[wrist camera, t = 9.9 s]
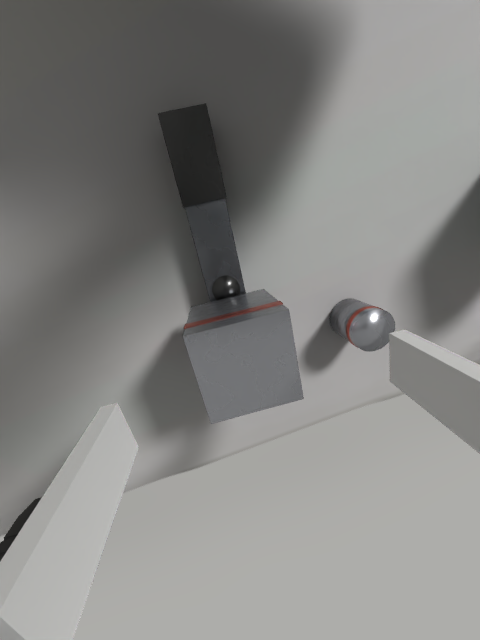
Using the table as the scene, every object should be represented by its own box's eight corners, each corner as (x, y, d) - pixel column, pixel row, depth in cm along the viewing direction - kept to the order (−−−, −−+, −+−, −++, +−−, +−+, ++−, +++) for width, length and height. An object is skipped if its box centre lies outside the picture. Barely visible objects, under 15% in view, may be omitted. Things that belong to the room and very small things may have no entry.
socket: (190, 306, 21) (181, 336, 14) (264, 288, 21) (289, 308, 14) (210, 372, 23) (210, 424, 16) (276, 354, 23) (304, 399, 16)
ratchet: (150, 133, 19) (120, 75, 13) (219, 119, 19) (225, 54, 13) (212, 349, 25) (213, 387, 19) (264, 336, 26) (283, 368, 19)
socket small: (327, 303, 25) (350, 315, 21) (364, 294, 26) (395, 304, 21) (331, 338, 27) (354, 356, 22) (366, 329, 27) (395, 345, 23)
